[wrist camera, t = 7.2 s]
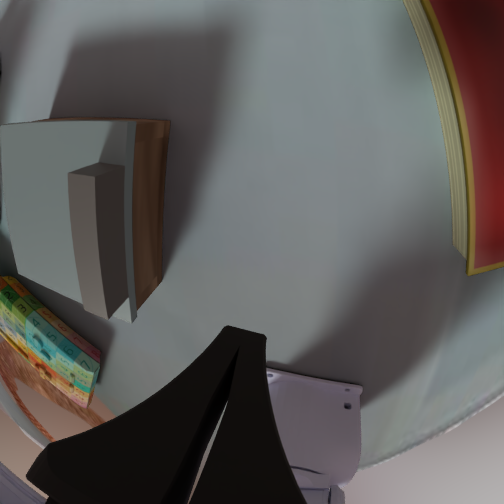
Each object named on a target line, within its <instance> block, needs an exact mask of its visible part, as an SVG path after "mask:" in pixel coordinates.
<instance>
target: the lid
mask: <svg viewBox="0 0 504 504" xmlns="http://www.w3.org/2000/svg"><path fill="white" fill-rule="evenodd" d="M135 132H136V121H121V120H54V121H35V122H22V123H11V124H5V125H1V126H0V145H1V169H2V182H3V192H4V201H5V209H6V216H7V222H8V228H9V233H10V239H11V244H12V249H13V253H14V258H15V262H16V266H17V270H18V274H20V275H22V276H24V277H26V278H28V279H30V280H32V281H34V282H36V283H38V284H40V285H42V286H44V287H46V288H49V289H51V290H53V291H55V292H57V293H59V294H61V295H64V296H66V297H68V298H70V299H73V300H75V301H77V302H79V303H82V304H83V306H84V310H85V311H88V312H90V313H92V314H95V315H97V316H100V317H102V318H104V319H107V320H109V318H110V317H111V316H113V317H116V318H119V319H121V320H124V321H126V322H129V323H132V322H133V321H134V320H135V319H136V317H137V308H136V296H135V282H134V265H133V238H132V189H133V162H134V145H135Z"/></svg>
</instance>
